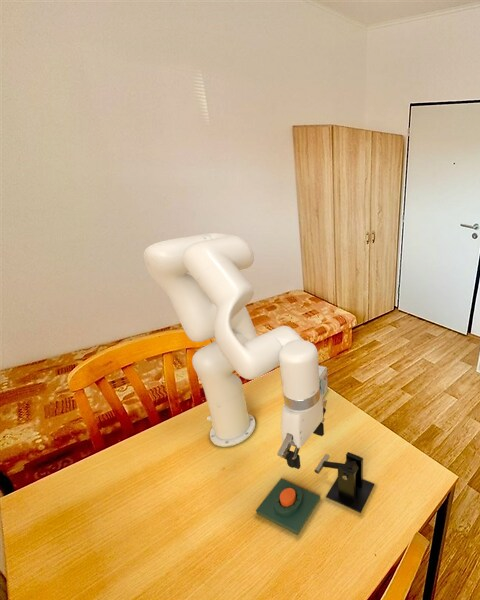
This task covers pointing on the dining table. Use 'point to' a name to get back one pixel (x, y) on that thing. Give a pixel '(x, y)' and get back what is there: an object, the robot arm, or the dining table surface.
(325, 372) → the light bulb box
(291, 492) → the button
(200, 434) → the dining table surface
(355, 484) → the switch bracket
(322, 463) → the switch lever
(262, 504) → the control block
